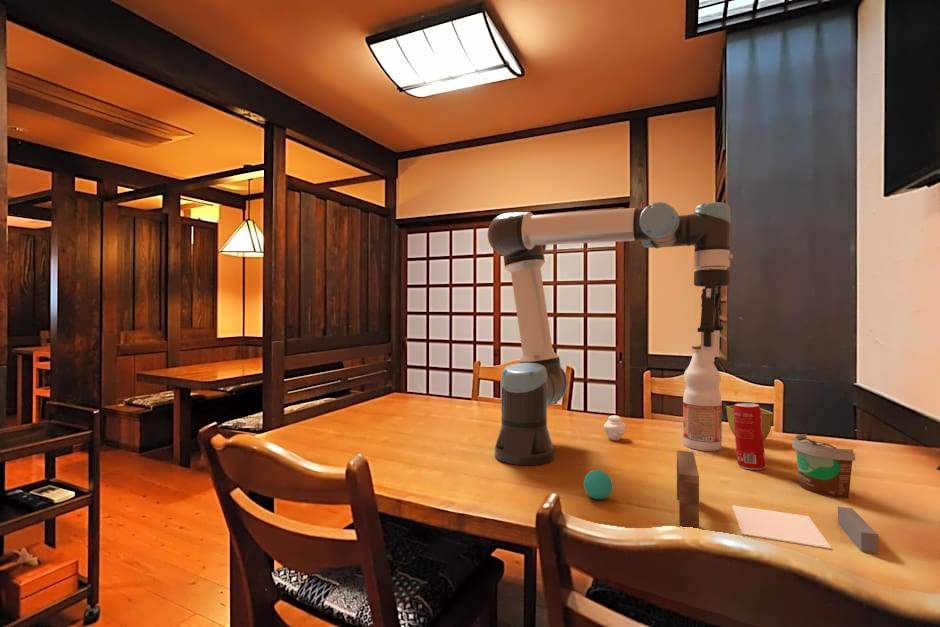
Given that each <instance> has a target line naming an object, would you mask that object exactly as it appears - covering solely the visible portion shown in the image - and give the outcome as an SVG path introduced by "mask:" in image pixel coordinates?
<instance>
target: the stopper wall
mask: <svg viewBox="0 0 940 627" xmlns="http://www.w3.org/2000/svg"><path fill="white" fill-rule="evenodd" d="M837 525H839V527H840V528H841V529H842V530H843V531H844V533H845V534H846V535H847V537H848V538H849V539H850V540H851V541H852V542H853V543H854V545H855V546H856V547H857V549H859V551H861V552H864V553H868V552H869V554H874V553H875V555H878V554H879V545H878V543H879V541H878V540H879V538H878V537H879V536H878V535H879V534H878V533H877V532H876V531H875V530H874V529H873V528H872V527H871V526H870V525H869V524H868V522H866V521H865V520H864V518H862V517H861V515H860V514H858V512H856V511H855V510H854V509H853V507H846V506H845V507H844V506H837Z"/></svg>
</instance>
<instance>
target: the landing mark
mask: <svg viewBox="0 0 940 627" xmlns="http://www.w3.org/2000/svg"><path fill="white" fill-rule="evenodd" d="M731 507H732V510H733V512H734V515H735V518H736V521H737V523H738V526H739V530H740V532H741V535H742V536H747V535H748V536H749V537H754V538H758V539H759V538H761V539H765V538H766V539H765V540H773V541H778V542H779V541H780V542H785V543H789V544H790V543H791V544H795V545H796V544H797V545H802V546H810V547H814V548H815V547H816V548H822V549H827V550H832V549H833V548H832V546H831V545H830V544H829V542H828V541H827V540H826V538H825V537H824V535H823V534H822V533H821V531H820V530H819V528H817V525H816V524H815V523H814V522H813V520H812V519H811V518H810V516H809V515H804V514H802V515H801V514H795V513H790V512H781V511H775V510H768V509H767V510H766V509H763V508H762V509H761V508H755V507H754V508H753V507H747V506H738V505H733V504H731ZM743 534H744V535H743Z"/></svg>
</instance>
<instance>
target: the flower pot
mask: <svg viewBox="0 0 940 627" xmlns="http://www.w3.org/2000/svg"><path fill="white" fill-rule="evenodd" d="M734 406H735V405H728V406H725V407H726V416H727V423H728V426H729V429H730V431H731V433H732V434H733V437H735V426H734V413H733V409H734ZM760 409H761V415H762V427H763V440H764V441H765V440H766V439H767V438H768V436H769V434H770V432H771V428H772V424H773V418H774V412H772V411H769V410H767V409H764V408H761V407H760Z"/></svg>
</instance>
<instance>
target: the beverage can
mask: <svg viewBox="0 0 940 627" xmlns="http://www.w3.org/2000/svg"><path fill="white" fill-rule="evenodd" d="M733 406H734V409H733V413H734V426H735V436H734V438H735V449H736V450H735V451H736V452H735V453H736V460H737V461H736V462H737V463H736V464H737V465H738V467H740V468H741V469H746V470H752V471H753V470H756V471H760V470H764V469H765V468H766V466H767V465H766V456H765V454H766V453H765V442H764V441H765V440H763V427H762V415H761V409H762V408H761V407H760V404H758V403H753V402H736V403H734V405H733ZM760 408H761V409H760Z"/></svg>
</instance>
